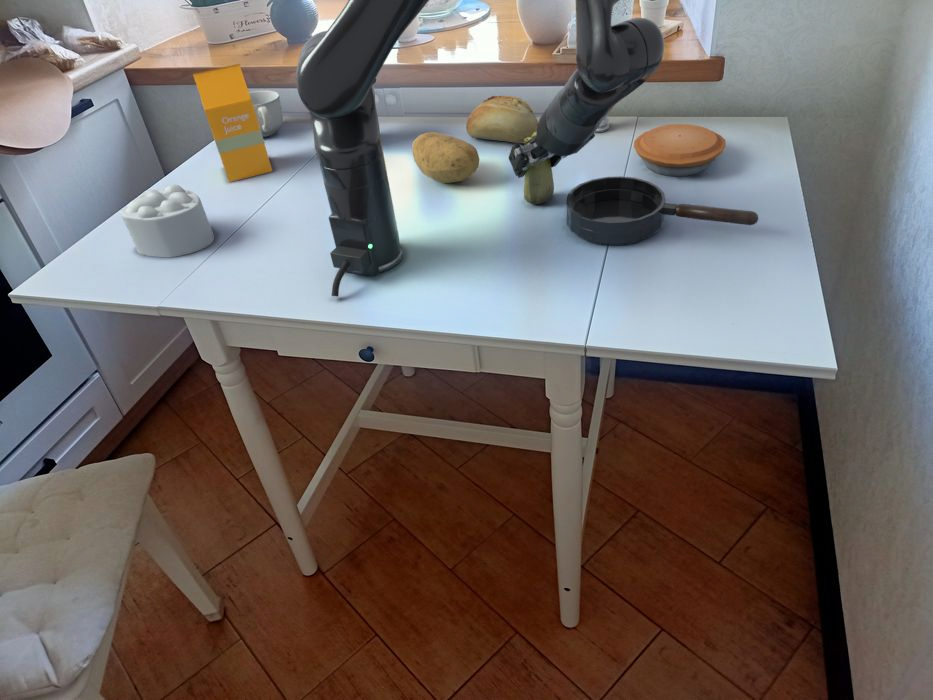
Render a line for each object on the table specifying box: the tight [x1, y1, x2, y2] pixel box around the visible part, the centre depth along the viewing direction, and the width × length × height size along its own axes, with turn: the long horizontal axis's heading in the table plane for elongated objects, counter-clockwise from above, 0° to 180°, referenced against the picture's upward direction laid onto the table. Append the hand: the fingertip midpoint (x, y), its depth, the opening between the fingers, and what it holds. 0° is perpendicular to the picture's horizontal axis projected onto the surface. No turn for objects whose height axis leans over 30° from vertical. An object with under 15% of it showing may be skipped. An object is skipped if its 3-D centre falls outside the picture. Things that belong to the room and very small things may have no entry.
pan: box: [565, 175, 667, 246], centre depth 112 cm, size 15×15×4 cm
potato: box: [411, 131, 481, 184], centre depth 128 cm, size 10×14×8 cm
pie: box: [633, 123, 727, 177], centre depth 125 cm, size 15×16×5 cm
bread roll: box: [465, 95, 539, 144], centre depth 140 cm, size 10×15×8 cm, turn 69°
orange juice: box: [192, 63, 273, 183], centre depth 138 cm, size 8×9×20 cm
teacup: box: [248, 89, 284, 138], centre depth 155 cm, size 14×11×8 cm
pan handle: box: [662, 202, 759, 226], centre depth 105 cm, size 2×14×2 cm, turn 65°
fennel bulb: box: [523, 131, 555, 205], centre depth 117 cm, size 6×5×12 cm
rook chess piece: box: [594, 114, 610, 134], centre depth 139 cm, size 4×4×8 cm
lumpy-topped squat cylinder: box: [120, 184, 215, 258], centre depth 121 cm, size 10×13×9 cm
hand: (534, 166), depth 119 cm, fingers closed on fennel bulb, 5 cm apart
